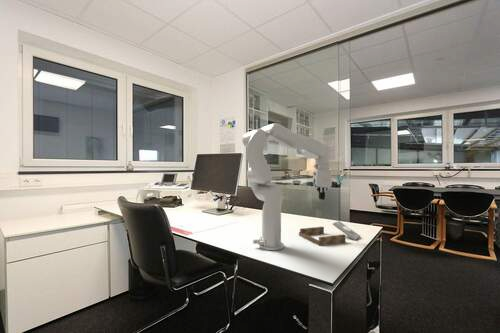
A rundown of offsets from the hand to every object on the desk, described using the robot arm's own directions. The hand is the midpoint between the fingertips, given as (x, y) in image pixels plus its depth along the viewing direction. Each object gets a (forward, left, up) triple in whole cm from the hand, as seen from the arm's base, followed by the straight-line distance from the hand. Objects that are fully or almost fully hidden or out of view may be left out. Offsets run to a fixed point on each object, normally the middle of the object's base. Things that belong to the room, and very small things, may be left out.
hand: (321, 199), depth 131 cm
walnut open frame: (-1, -1, -22) cm, 22 cm away
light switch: (+16, -2, -23) cm, 27 cm away
